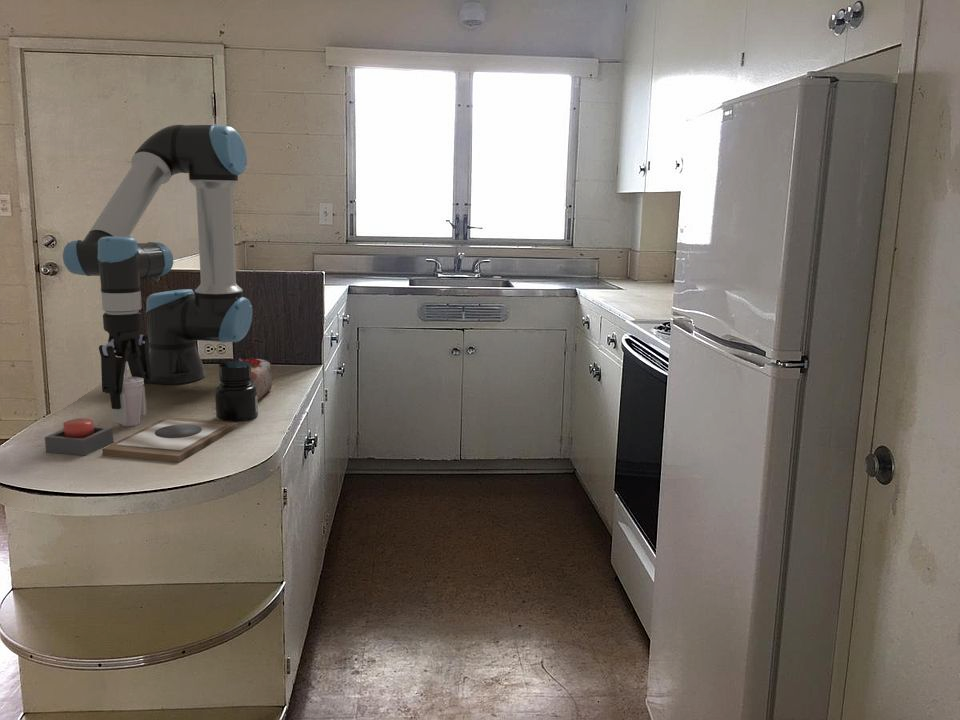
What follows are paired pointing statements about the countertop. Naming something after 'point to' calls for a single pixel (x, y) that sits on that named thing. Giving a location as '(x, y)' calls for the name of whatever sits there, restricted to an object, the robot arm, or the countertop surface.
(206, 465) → the countertop surface
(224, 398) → the ink bottle
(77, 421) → the button
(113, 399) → the robot arm
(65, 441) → the button housing
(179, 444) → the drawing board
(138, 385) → the smoothie
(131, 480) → the countertop surface
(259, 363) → the food item
